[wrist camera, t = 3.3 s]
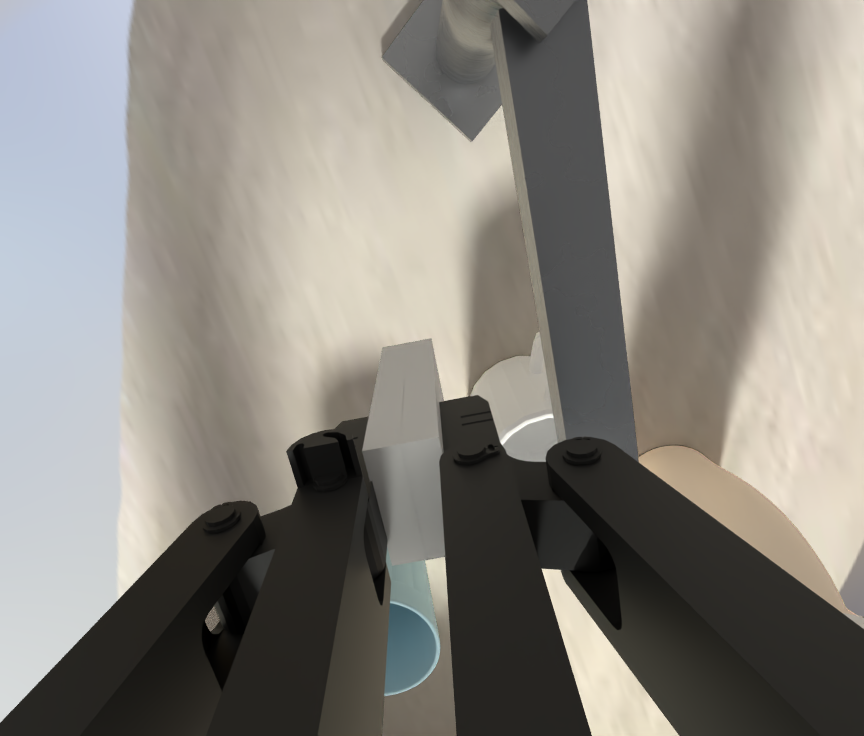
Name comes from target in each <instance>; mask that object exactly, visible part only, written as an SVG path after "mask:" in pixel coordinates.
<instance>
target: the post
mask: <svg viewBox="0 0 864 736" xmlns="http://www.w3.org/2000/svg"><path fill="white" fill-rule="evenodd" d="M574 1H575V0H423V1H422V3H421V4H420V5H419V7H418V8H417V9H416V11H415V12H414V14H413V15H412V16H411V18H410V19H409V20H408V22H407V23H406V25H405V26H404V27H403V29H402V30H401V31H400V33H399V34H398V36H397V37H396V38H395V40H394V41H393V42H392V44H391V45H390V47H389V48H388V49H387V51H386V52H385V53H384V55H383V56H382V60H383V61H384V62H385V63H386V64H387V65H388V66H390V67H391V68H392V69H393V70H394V71H395V72H396V73H397V74H398V75H399V76H400V77H401V78H403V79H404V80H405V81H406V82H407V83H408V84H409V85H410V86H411V87H412V88H413V89H414V90H415V91H417V92H418V93H419V94H420V95H421V96H422V97H423V98H424V99H425V100H426V101H427V102H428V103H429V104H431V105H432V106H433V107H434V108H435V109H436V110H437V111H438V112H439V113H440V114H441V115H442V116H443V117H445V118H446V119H447V120H448V121H449V122H450V123H451V124H452V125H453V126H454V127H455V128H456V129H458V130H459V131H460V132H461V133H462V134H463V135H464V136H465V137H466V138H467V139H468V140H469V141H470V142H472V141H473V140H474V138H475V137H476V136H477V135H478V133H479V132H480V131H481V130H482V128H483V127H484V126H485V125H486V123H487V122H488V121H489V120H490V118H491V117H492V116H493V115H494V113H495V112H496V111H497V110H498V108H499V107H500V106H501V105H502V100H501V94H500V87H499V81H498V75H497V69H496V63H495V57H494V51H493V45H492V39H491V32H490V25H491V23H492V21H493V19H494V17H495V15H496V13H497V11H498V9H501V8H505V10H506V11H507V12H508V13H509V14H510V15H511V16H512V17H513V18H514V19H515V20H516V21H517V22H518V23H519V24H520V25H521V26H522V27H523V28H524V29H525V30H526V31H527V32H528V33H529V34H530V35H531V36H532V37H533V38H534V39H535V40H536V41H537V42H538V43H539V44H540V43H541V42H542V40H543V39H544V38H545V37H546V36H547V35H548V34H549V33H550V31H551V30H552V29H553V28H554V26H555V25H556V24H557V23H558V21H559V20H560V19H561V18H562V16H563V15H564V14H565V13H566V11H567V10H568V9H569V8H570V6H571V5H572V4H573V3H574Z"/></svg>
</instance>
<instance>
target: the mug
mask: <svg viewBox="0 0 864 736" xmlns="http://www.w3.org/2000/svg"><path fill="white" fill-rule="evenodd" d="M475 395H479V396H480V397H482V398H483V399H485V400H487V401H488V402H489V406H490V409H491V413H492V416H493V420H494V423H495V426H496V429H497V433H498V436H499V440H500V443H501V444H502V446H503V447H504V448H505V450H506V453H507V454H508V455H509V456H511V457H513V458H515V459H518V460H523V461H532V462H546V454H547V451H548V450H549V449H550V448H551V447H552V446H554V445H555V444H557V443H558V442H557V436H556V429H555V423H554V417H553V411H552V405H551V399H550V393H549V387H548V381H547V375H546V368H545V362H544V356H543V350H542V344H541V338H540V332H538V333H537V334H536V336H535V339H534V342H533V347H532V351H531V356H515V357H512V358H509V359H506V360H503V361H500V362H498V363H497V364H496V365H494V366H493V367H491V368H490V369H488V370H487V371H485V372H484V374H483V375H482V376H481V377H480V379H479V380H478V381H477V383H476V384H475V385H474V387H473V390H472V393H471V395H470V396H475Z"/></svg>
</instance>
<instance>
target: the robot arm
mask: <svg viewBox="0 0 864 736" xmlns="http://www.w3.org/2000/svg"><path fill="white" fill-rule="evenodd" d="M286 452H287V455H288V458H289V461H290V465H291V468H292V471H293V474H294V477H295V480H296V484H297V487H298V489H297V491H296V494H295V497H294V499H293V502H292V505H290V506H288V507H285V508H283V509H281V510H278V511H275V512H272V513H270V514H267V515H264V516H261V517H260V514H259V511H258V508H257V506H256V505H255V504H253V503H252V502H248V501H236V502H227V503H223V504H222V505H221V504H220V505H218V506H215V507H213V508H212V509H211V510H209V511H207V512H206V513H204V514H202V515H201V516H200V517H199V518H197V519H196V520H195V521H194V522H192V524H191V525H190V526H189V527H188V528H187V529H186V530H185V531H184V532H183V533H182V534H181V535H180V536H179V537H178V538H177V539H176V540H175V541H174V542H173V543H172V544H171V545H170V546H169V547H168V549H167V550H166V551H165V552H164V553H163V554H162V555H161V556H160V557H159V558H158V559H157V560H156V561H155V562H154V563H153V564H152V565H151V566H150V567H149V568H148V569H147V570H146V571H145V573H144V574H143V575H142V576H141V577H140V578H139V579H138V580H137V581H136V582H135V583H134V584H133V585H132V586H131V587H130V588H129V589H128V590H127V591H126V592H125V593H124V594H123V595H122V596H121V598H120V599H119V600H118V601H117V602H116V603H115V604H114V605H113V606H112V607H111V608H110V609H109V610H108V611H107V612H106V613H105V614H104V615H103V616H102V617H101V618H100V619H99V620H98V622H97V623H96V624H95V625H94V626H93V627H92V628H91V629H90V630H89V631H88V632H87V633H86V634H85V635H84V636H83V637H82V638H81V639H80V640H79V641H78V642H77V644H75V645H74V647H73V648H72V649H71V650H70V651H69V652H68V653H67V654H66V655H65V656H64V657H63V658H62V659H61V660H60V661H59V662H58V663H57V664H56V665H55V667H54V668H52V669H51V670H50V672H49V673H48V674H47V675H46V676H45V677H44V678H43V679H42V680H41V681H40V682H39V683H38V684H37V685H36V686H35V687H34V688H33V689H32V690H31V691H30V692H29V693H28V695H27V696H26V697H25V698H24V699H23V700H22V701H21V702H20V703H19V704H18V705H17V706H16V707H15V708H14V709H13V710H12V711H11V712H10V713H9V714H8V715H7V716H6V717H5V718H4V720H3V721H2V722H1V723H0V736H382V725H383V708H384V692H385V676H386V659H387V643H388V627H389V611H390V594H391V579H390V575H389V571H388V567H387V564H386V554H387V548H388V552H389V556H390V560H391V563H392V566H394V565H400V564H405V563H411V562H417V561H423V560H428V559H434V558H440V557H445V561H446V576H447V592H448V607H449V623H450V638H451V654H452V669H453V685H454V700H455V716H456V731H457V736H592V735H591V732H590V728H589V725H588V722H587V718H586V715H585V712H584V708H583V705H582V702H581V698H580V695H579V692H578V688H577V685H576V682H575V678H574V675H573V672H572V668H571V665H570V662H569V659H568V655H567V652H566V649H565V645H564V642H563V639H562V635H561V632H560V629H559V625H558V622H557V619H556V615H555V612H554V609H553V605H552V602H551V599H550V595H549V592H548V589H547V585H546V582H545V579H544V576H543V572H542V569H541V568H543V569H558V570H561V573H562V576H563V578H564V580H565V582H566V584H567V585H568V586H569V588H570V589H571V590H572V592H573V593H574V594H575V596H576V597H577V599H578V600H579V601H580V603H581V604H582V605H583V607H584V608H585V609H586V611H587V612H588V613H589V615H590V616H591V617H592V619H593V620H594V621H595V623H596V624H597V625H598V627H599V628H600V629H601V631H602V632H603V634H604V635H605V636H606V638H607V639H608V640H609V642H610V643H611V644H612V646H613V647H614V648H615V650H616V651H617V652H618V654H619V655H620V656H621V658H622V659H623V660H624V662H625V663H626V664H627V666H628V667H629V668H630V670H631V671H632V673H633V674H634V675H635V677H636V678H637V679H638V681H639V682H640V683H641V685H642V686H643V687H644V689H645V690H646V691H647V693H648V694H649V695H650V697H651V698H652V699H653V701H654V702H655V703H656V705H657V706H658V708H659V709H660V710H661V712H662V713H663V714H664V716H665V717H666V718H667V720H668V721H669V722H670V724H671V725H672V726H673V728H674V729H675V730H676V732H677V733H678V734H679V736H864V629H863V628H862V627H860V626H859V625H858V624H856V623H855V622H854V621H852V620H851V619H850V618H848V617H847V616H846V615H844V614H843V613H842V612H840V611H839V610H838V609H836V608H835V607H833V606H832V605H831V604H829V603H828V602H827V601H825V600H824V599H823V598H821V597H820V596H819V595H817V594H816V593H815V592H813V591H812V590H811V589H809V588H808V587H806V586H805V585H804V584H802V583H801V582H800V581H798V580H797V579H796V578H794V577H793V576H792V575H790V574H789V573H788V572H786V571H785V570H784V569H782V568H781V567H779V566H778V565H777V564H775V563H774V562H773V561H771V560H770V559H769V558H767V557H766V556H765V555H763V554H762V553H761V552H759V551H758V550H756V549H755V548H754V547H752V546H751V545H750V544H748V543H747V542H746V541H744V540H743V539H742V538H740V537H739V536H738V535H736V534H735V533H734V532H732V531H731V530H729V529H728V528H727V527H725V526H724V525H723V524H721V523H720V522H719V521H717V520H716V519H715V518H713V517H712V516H711V515H709V514H708V513H707V512H705V511H704V510H702V509H701V508H700V507H698V506H697V505H696V504H694V503H693V502H692V501H690V500H689V499H688V498H686V497H685V496H684V495H682V494H681V493H679V492H678V491H677V490H675V489H674V488H673V487H671V486H670V485H669V484H667V483H666V482H665V481H663V480H662V479H661V478H659V477H658V476H657V475H655V474H654V473H652V472H651V471H650V470H648V469H647V468H646V467H644V466H643V465H642V464H640V463H639V462H638V461H636V460H635V459H634V458H632V457H631V456H630V455H628V454H627V453H625V452H624V451H623V450H621V449H620V448H619V447H617V446H616V445H615V444H613V443H611V442H609V441H607V440H604V439H599V438H594V437H575V438H573V439H568V440H564V441H562V442H559V443H557V444H555V445H554V446H552V447H551V448H550V449H549V450H548V451H547V454H546V462H532V461H523V460H518V459H515V458H513V457H511V456H509V455H508V454H507V453H506V450H505V448H504V447H503V446H502V444H501V443H500V440H499V436H498V433H497V429H496V426H495V423H494V420H493V416H492V413H491V409H490V406H489V402H488V401H487V400H485V399H483V398H482V397H480V396H479V395H475V396H469V397H464V398H459V399H453V400H448V401H444V399H443V394H442V389H441V384H440V379H439V374H438V369H437V364H436V359H435V354H434V349H433V344H432V339H431V338H430V339H425V340H420V341H415V342H409V343H404V344H399V345H394V346H388V347H383V348H382V353H381V358H380V363H379V368H378V373H377V378H376V383H375V388H374V393H373V398H372V403H371V408H370V413H369V417H364V418H359V419H354V420H348V421H343V422H341V423H340V424H339V425H338V426H337V427H336V428H335V429H333V430H324V431H320V432H317V433H313V434H310V435H308V436H306V437H304V438H301V439H300V440H298V441H297V442H295V443H294V444H292V445H291V446H290V448H289V449H288V450H287V451H286ZM213 606H214V607H215V609H216V612H217V614H218V617H219V619H220V621H219V623H218V624H217V626H216V627H215V628H214V629H213V630H212V631H211V632H210V631H209V629H208V627H207V625H206V623H205V619H206V617H207V615H208V613H209V612H210V610H211V609H212V608H213Z"/></svg>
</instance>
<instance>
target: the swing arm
mask: <svg viewBox="0 0 864 736" xmlns="http://www.w3.org/2000/svg"><path fill="white" fill-rule="evenodd" d="M490 32H491V39H492V45H493V51H494V57H495V63H496V69H497V75H498V81H499V87H500V94H501V100H502V106H503V112H504V118H505V124H506V130H507V136H508V142H509V149H510V155H511V161H512V167H513V173H514V179H515V185H516V191H517V197H518V204H519V210H520V216H521V222H522V228H523V234H524V240H525V246H526V252H527V258H528V265H529V271H530V277H531V283H532V289H533V295H534V301H535V307H536V313H537V320H538V326H539V332H540V338H541V344H542V350H543V356H544V362H545V368H546V375H547V381H548V387H549V393H550V399H551V405H552V411H553V417H554V423H555V429H556V436H557V442H558V443H559V442H562V441H564V440H568V439H573V438H575V437H594V438H599V439H604V440H607V441H609V442H611V443H613V444H615V445H616V446H617V447H619V448H620V449H621V450H623V451H624V452H625V453H627V454H628V455H630V456H631V457H632V458H634V459H635V460H636V461H638V462H639V459H638V450H637V441H636V432H635V424H634V415H633V406H632V397H631V388H630V379H629V370H628V361H627V352H626V343H625V334H624V325H623V316H622V307H621V299H620V290H619V281H618V272H617V263H616V254H615V245H614V236H613V227H612V218H611V209H610V200H609V191H608V183H607V174H606V165H605V156H604V147H603V138H602V129H601V120H600V111H599V102H598V93H597V84H596V75H595V66H594V58H593V49H592V40H591V31H590V22H589V13H588V4H587V0H575V1H574V3H573V4H572V5H571V6H570V8H569V9H568V10H567V11H566V13H565V14H564V15H563V16H562V18H561V19H560V20H559V21H558V23H557V24H556V25H555V26H554V28H553V29H552V30H551V31H550V33H549V34H548V35H547V36H546V37H545V38H544V39H543V40H542V42H541V43H540V44H539V43H538V42H537V41H536V40H535V39H534V38H533V37H532V36H531V35H530V34H529V33H528V32H527V31H526V30H525V29H524V28H523V27H522V26H521V25H520V24H519V23H518V22H517V21H516V20H515V19H514V18H513V17H512V16H511V15H510V14H509V13H508V12H507V11H506V10H505V8H501V9H498V11H497V13H496V15H495V17H494V19H493V21H492V23H491V25H490Z"/></svg>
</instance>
